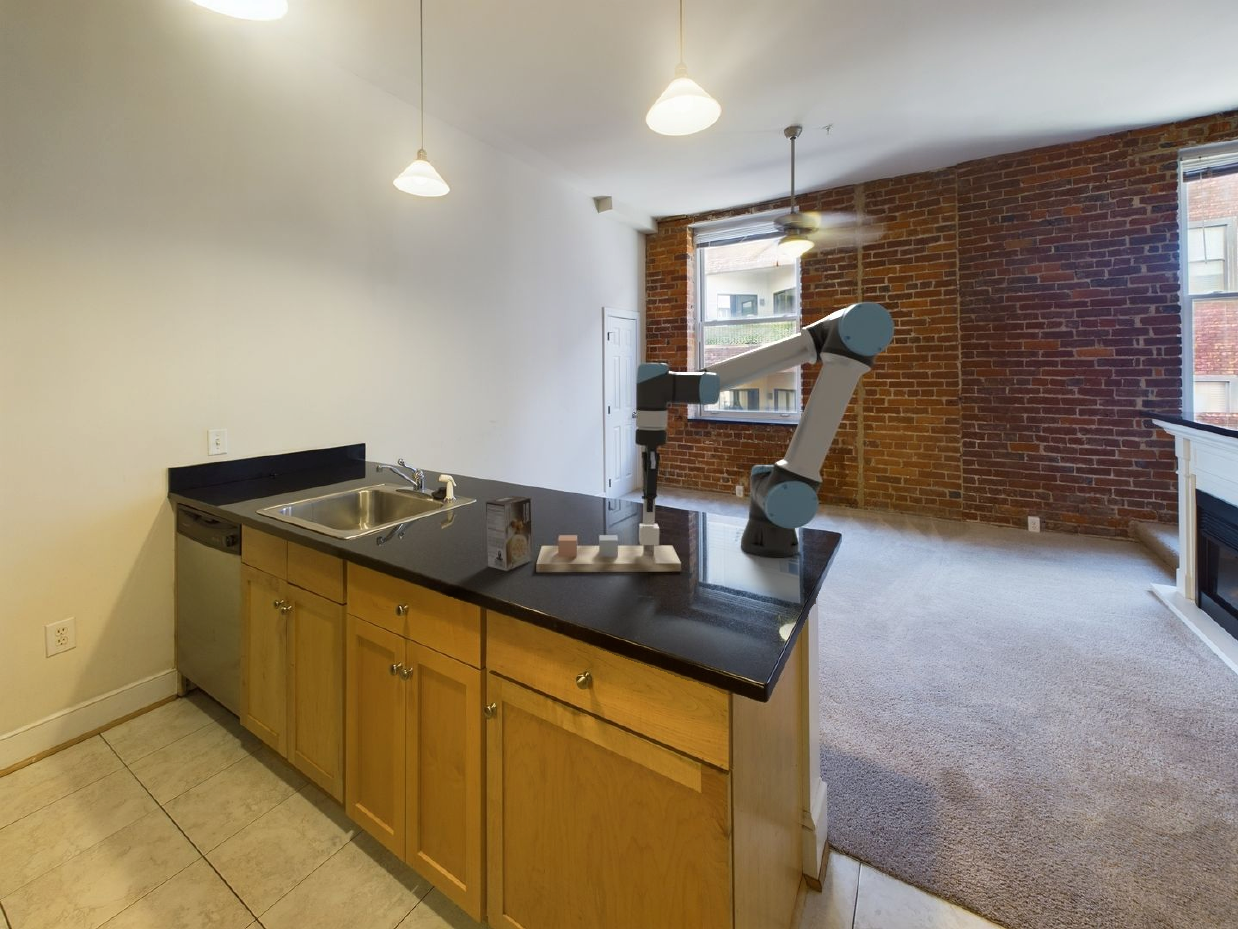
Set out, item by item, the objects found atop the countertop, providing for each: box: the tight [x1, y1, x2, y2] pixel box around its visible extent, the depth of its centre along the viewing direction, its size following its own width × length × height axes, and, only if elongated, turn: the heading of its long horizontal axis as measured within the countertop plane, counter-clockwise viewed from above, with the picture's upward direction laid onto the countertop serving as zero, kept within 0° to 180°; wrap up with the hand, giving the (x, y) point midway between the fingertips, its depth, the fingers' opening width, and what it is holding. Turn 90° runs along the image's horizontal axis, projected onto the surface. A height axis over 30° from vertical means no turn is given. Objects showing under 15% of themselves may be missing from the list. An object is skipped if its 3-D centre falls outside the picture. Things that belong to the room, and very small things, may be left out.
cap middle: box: [598, 534, 619, 557], centre depth 132 cm, size 4×4×4 cm
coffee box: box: [485, 495, 533, 572], centre depth 129 cm, size 9×6×16 cm
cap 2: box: [638, 523, 660, 546], centre depth 132 cm, size 4×4×4 cm
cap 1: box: [557, 534, 578, 557], centre depth 131 cm, size 4×4×4 cm
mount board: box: [535, 545, 682, 573], centre depth 132 cm, size 34×14×5 cm, turn 93°
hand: (648, 523), depth 132 cm, fingers closed
